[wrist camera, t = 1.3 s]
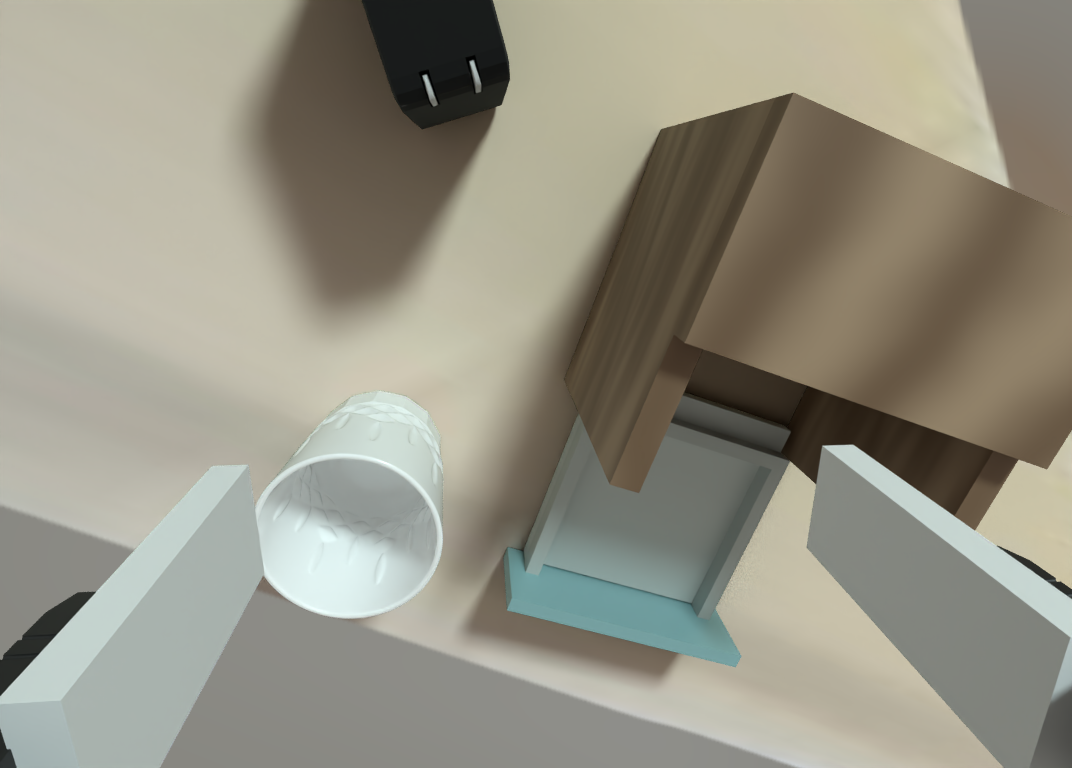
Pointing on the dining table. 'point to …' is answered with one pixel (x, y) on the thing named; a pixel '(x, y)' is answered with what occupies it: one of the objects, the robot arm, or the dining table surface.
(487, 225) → the dining table surface
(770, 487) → the teal drawer
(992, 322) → the wooden drawer box
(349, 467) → the white cup
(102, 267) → the dining table surface
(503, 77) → the electronic device
